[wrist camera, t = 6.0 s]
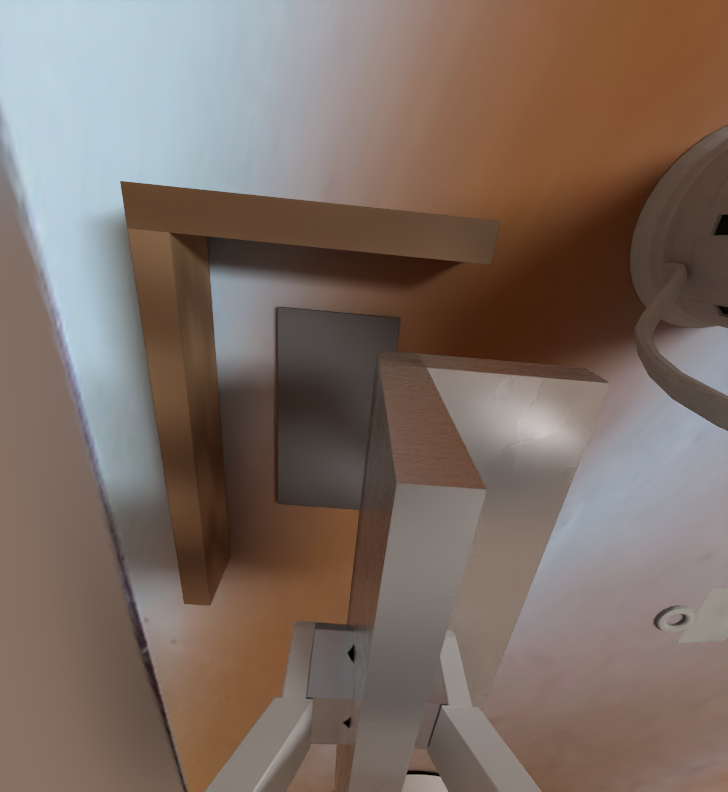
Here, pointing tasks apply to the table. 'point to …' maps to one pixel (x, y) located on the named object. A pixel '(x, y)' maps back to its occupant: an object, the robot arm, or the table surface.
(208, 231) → the brown wooden l-shaped piece
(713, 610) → the grey piece
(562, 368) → the angle bracket
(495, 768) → the robot arm
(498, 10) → the table surface
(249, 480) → the table surface
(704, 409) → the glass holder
